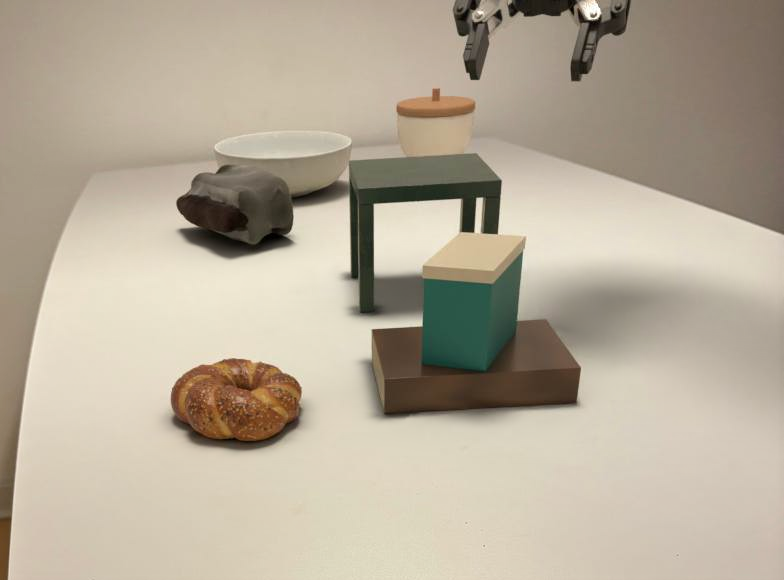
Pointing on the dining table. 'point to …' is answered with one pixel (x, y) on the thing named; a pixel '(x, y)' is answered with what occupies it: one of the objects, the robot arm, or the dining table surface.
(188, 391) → the pretzel
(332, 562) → the dining table surface
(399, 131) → the lidded bowl
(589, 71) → the robot arm
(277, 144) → the serving bowl
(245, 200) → the rock
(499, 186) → the upper shelf
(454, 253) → the box
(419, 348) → the low shelf
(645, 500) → the dining table surface
